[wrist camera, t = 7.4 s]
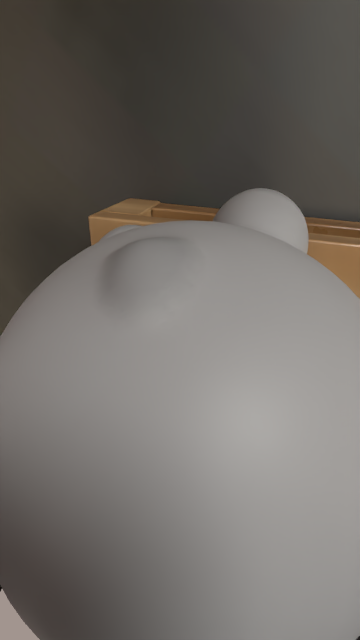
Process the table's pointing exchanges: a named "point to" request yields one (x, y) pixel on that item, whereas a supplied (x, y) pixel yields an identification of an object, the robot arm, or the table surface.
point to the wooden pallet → (324, 234)
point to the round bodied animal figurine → (185, 436)
